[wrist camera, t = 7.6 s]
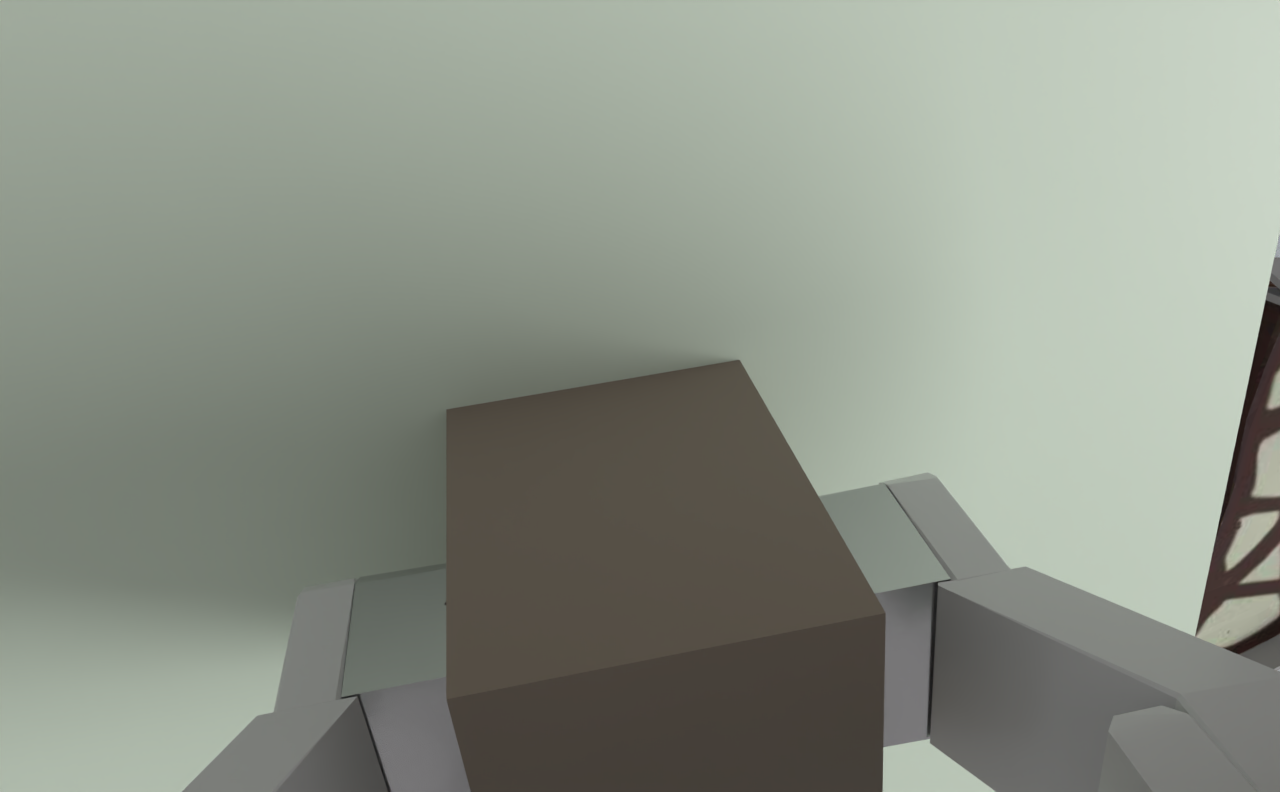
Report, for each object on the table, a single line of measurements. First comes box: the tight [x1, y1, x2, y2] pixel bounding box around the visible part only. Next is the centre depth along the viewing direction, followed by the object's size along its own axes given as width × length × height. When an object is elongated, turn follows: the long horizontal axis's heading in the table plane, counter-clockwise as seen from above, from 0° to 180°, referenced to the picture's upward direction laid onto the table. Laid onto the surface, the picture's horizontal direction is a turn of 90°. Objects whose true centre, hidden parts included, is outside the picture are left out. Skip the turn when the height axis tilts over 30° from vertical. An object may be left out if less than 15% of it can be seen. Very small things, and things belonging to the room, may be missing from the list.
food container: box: [1195, 257, 1280, 670], centre depth 29 cm, size 12×6×10 cm, turn 178°
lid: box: [0, 0, 1280, 792], centre depth 10 cm, size 15×15×5 cm
